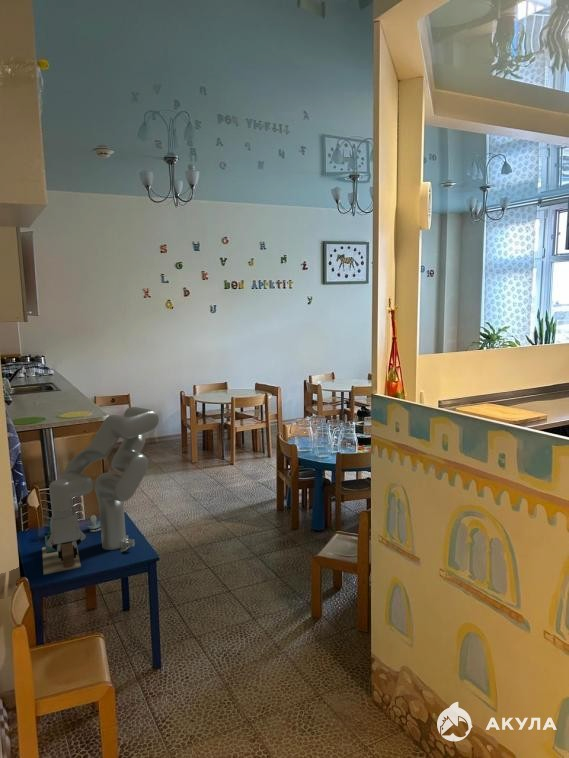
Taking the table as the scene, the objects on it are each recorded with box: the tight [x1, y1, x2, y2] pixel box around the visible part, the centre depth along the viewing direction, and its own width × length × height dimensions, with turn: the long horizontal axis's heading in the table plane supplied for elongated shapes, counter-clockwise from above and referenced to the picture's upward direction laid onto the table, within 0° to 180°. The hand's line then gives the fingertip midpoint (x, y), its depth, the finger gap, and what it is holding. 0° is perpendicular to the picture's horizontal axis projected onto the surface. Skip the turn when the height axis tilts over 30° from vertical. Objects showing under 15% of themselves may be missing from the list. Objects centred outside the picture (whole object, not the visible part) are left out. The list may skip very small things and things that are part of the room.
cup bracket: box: [44, 524, 58, 554], centre depth 223 cm, size 14×7×10 cm, turn 24°
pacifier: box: [85, 514, 101, 533], centre depth 249 cm, size 7×6×6 cm
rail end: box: [61, 541, 75, 567], centre depth 214 cm, size 4×4×9 cm
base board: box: [41, 542, 82, 576], centre depth 221 cm, size 24×13×2 cm, turn 24°
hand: (68, 557), depth 214 cm, fingers closed on rail end, 4 cm apart
